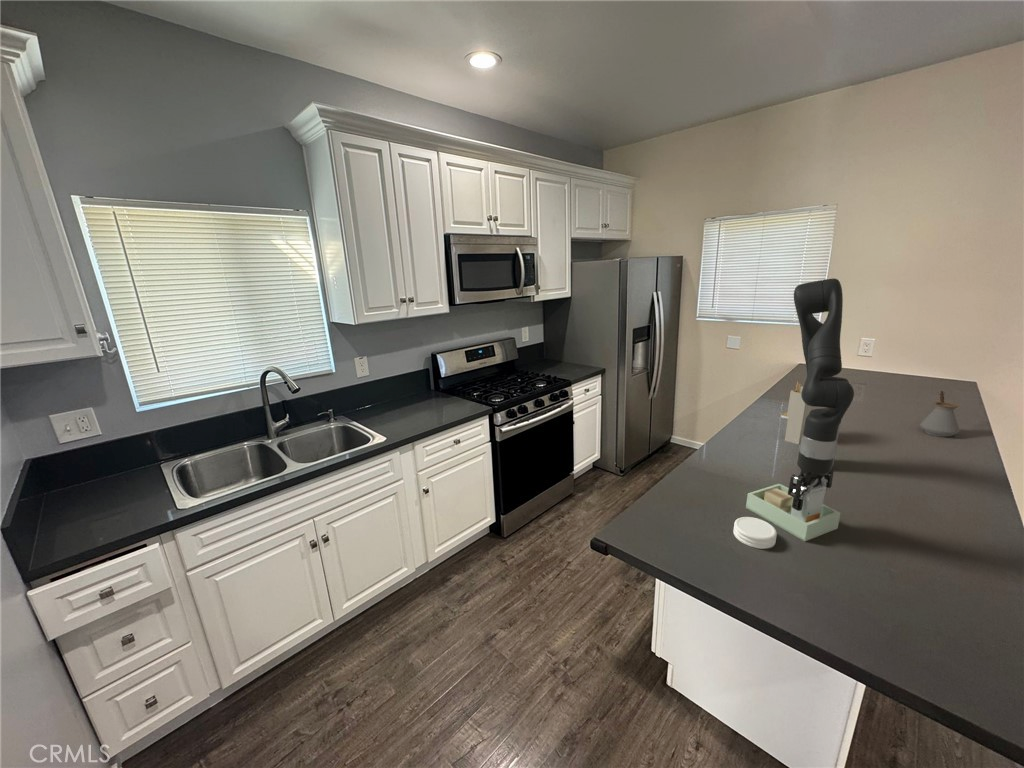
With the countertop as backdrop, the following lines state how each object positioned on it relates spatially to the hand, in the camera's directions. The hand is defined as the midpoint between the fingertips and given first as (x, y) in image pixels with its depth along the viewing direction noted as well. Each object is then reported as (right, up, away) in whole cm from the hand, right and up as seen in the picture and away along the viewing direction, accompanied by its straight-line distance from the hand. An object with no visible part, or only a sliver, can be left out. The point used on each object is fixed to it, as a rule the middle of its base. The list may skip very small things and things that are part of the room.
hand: (806, 505), depth 113 cm
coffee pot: (+100, +14, +61) cm, 118 cm away
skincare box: (+1, -6, +2) cm, 6 cm away
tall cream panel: (+38, +10, +58) cm, 70 cm away
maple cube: (-3, -4, +9) cm, 10 cm away
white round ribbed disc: (-16, -8, -2) cm, 18 cm away
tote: (-1, -5, +5) cm, 7 cm away
